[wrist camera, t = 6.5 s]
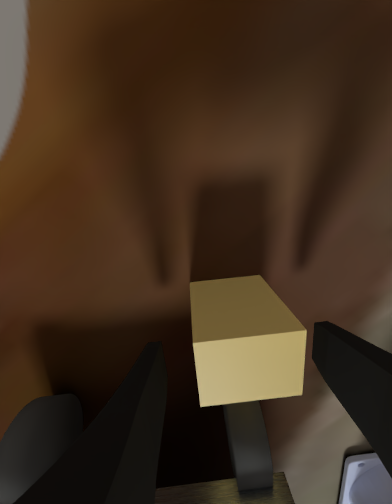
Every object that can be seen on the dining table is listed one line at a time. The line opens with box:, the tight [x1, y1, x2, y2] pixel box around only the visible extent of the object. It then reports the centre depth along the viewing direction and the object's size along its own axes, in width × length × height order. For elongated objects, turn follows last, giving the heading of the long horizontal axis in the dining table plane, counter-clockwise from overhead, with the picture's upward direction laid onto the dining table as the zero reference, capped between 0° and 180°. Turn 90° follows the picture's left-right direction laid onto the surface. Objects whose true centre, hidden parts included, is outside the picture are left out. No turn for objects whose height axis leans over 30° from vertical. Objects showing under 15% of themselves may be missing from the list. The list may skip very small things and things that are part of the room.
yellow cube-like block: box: [190, 275, 307, 407], centre depth 11 cm, size 4×5×5 cm
